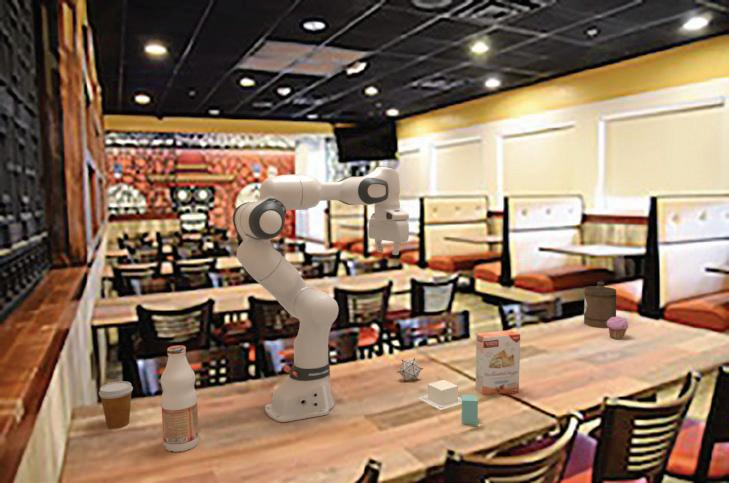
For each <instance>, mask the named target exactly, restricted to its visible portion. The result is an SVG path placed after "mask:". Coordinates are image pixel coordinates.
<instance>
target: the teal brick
mask: <svg viewBox="0 0 729 483" xmlns="http://www.w3.org/2000/svg"><path fill="white" fill-rule="evenodd" d="M461 398H462V404H461V424H463V425H472V426H470V428H478V427H479V426H478V425H479V424H478V423H479V421H478V420H479V409H478V408H479V405H478V404H479V403H478V402H479V400H478V395H474V394H461Z"/></svg>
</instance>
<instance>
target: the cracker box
mask: <svg viewBox="0 0 729 483" xmlns="http://www.w3.org/2000/svg"><path fill="white" fill-rule="evenodd" d="M475 335H476V338H475V339H476V341H475V344H476V345H475V391H477V393H479V394H480V395H482V396H487V395H494V394H502V395H508V394H517V393H519V392H520V362H521V361H520V358H521V357H520V356H521V355H520V354H521V334H520V333H519V332H518V331H517V332H516V331H515V330H512V329H511V330H510V329H508V330H500V331H489V332H487V331H486V332H485V331H484V332H477V333H475Z"/></svg>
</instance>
